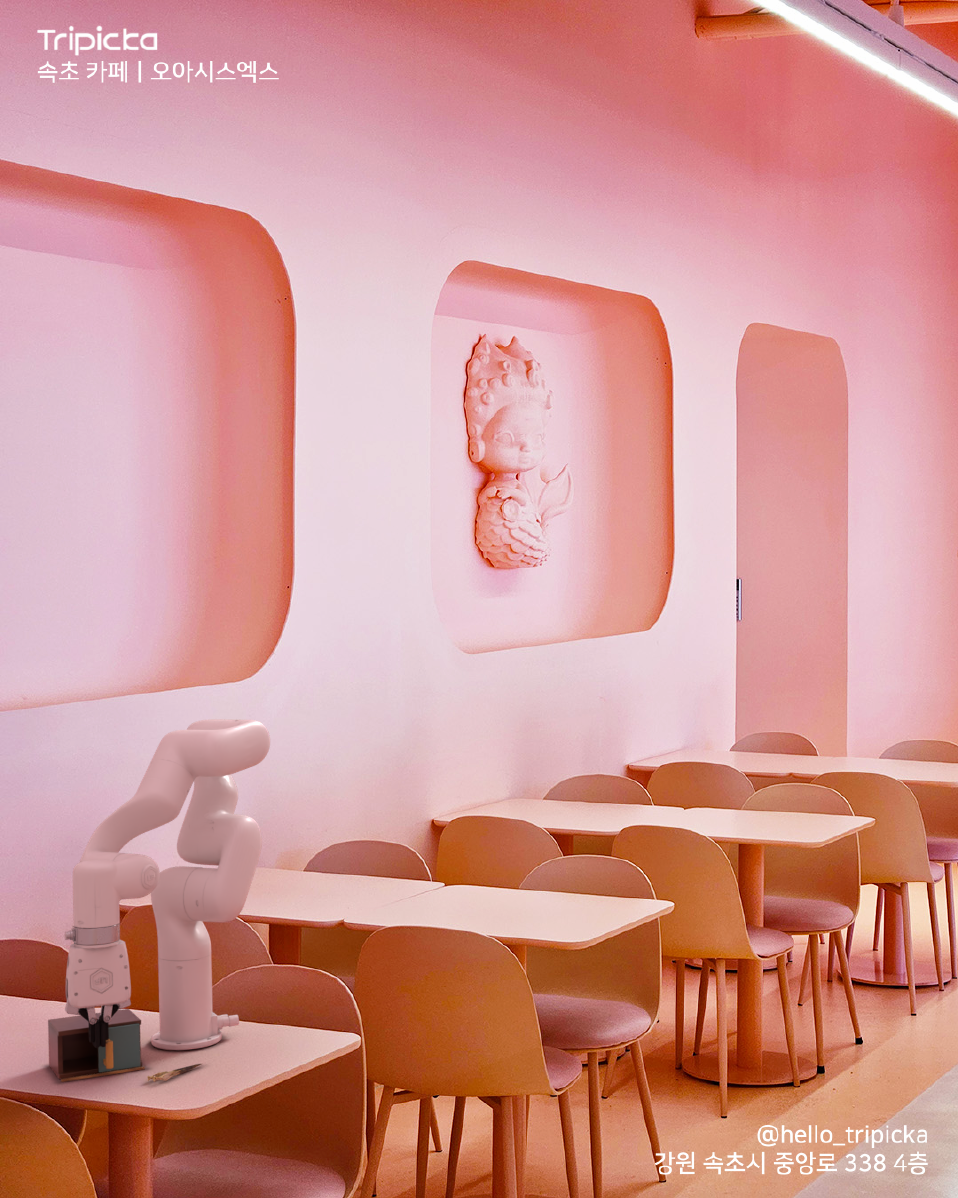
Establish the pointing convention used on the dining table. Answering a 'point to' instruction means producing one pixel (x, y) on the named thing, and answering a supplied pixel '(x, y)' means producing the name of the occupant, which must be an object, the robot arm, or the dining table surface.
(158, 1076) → the tan slender tapered piece
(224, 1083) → the dining table surface
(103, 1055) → the door
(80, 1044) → the cupboard
